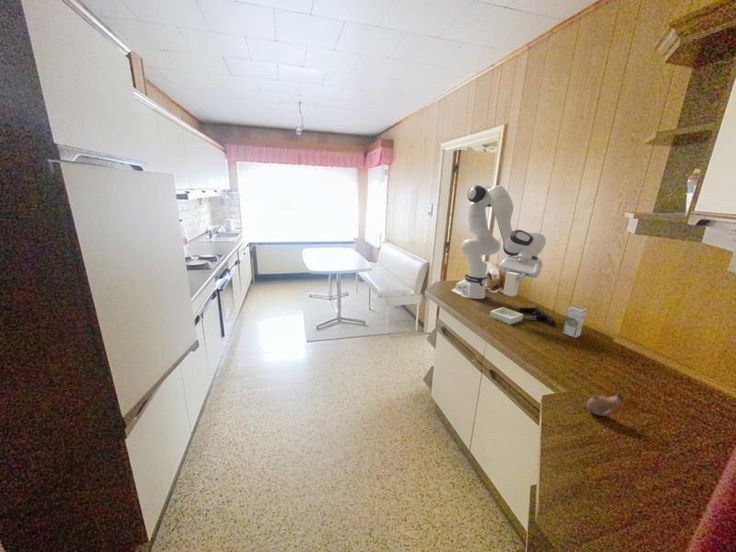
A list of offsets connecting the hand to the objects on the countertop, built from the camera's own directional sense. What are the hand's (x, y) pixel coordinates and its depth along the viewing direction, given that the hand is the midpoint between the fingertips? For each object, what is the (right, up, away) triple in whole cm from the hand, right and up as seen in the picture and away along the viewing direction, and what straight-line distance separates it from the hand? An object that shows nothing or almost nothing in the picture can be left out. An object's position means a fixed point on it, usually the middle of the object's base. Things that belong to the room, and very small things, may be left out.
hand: (512, 278), depth 151 cm
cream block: (0, -8, +3) cm, 9 cm away
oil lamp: (-4, -42, -62) cm, 75 cm away
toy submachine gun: (+17, -22, +10) cm, 30 cm away
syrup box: (+24, -28, -10) cm, 38 cm away
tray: (0, -22, +7) cm, 23 cm away
